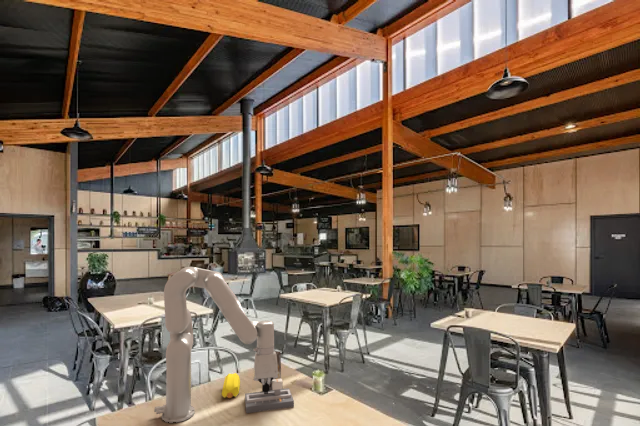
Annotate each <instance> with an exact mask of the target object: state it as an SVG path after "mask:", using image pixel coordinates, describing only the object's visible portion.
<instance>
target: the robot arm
mask: <svg viewBox="0 0 640 426" xmlns="http://www.w3.org/2000/svg"><path fill="white" fill-rule="evenodd" d="M192 287H194V288H201V289H205V290H206V292H207V294H208V295H209V296H210V298H211V299H212V301H213V302H214V303H215V304H216V306H217V308H218V309H219V310H220V311H221V314H222V315H223V317H224V318H225V320H226V321H227V323H228V325H229V326H230V327H231V329H232V330H233V332H234V333H235V334H236V336H237V338H238V339H239V340H240V342H241V343H243V344H245V345H251V344H253V343H255V342H256V347H254V348H253V353H254V352H255V355H254V360H253V363H254V364H253V379H252V380H253V381H255V382H259V383H260V384H261V392H264V394H268V391H269V384H270V382H271V381H272V380H273V379H275V378H278V367H277V356H276V352H275V351H276V350H275V324H274V322H273V321H271V320H260V321H257V320H256V321H253V320H250V319H249V317H248V316H247V315H246V313H245V311H244V309H243V306H242V304H241V301H240V300H239V298H238V296H237V295H235V293H234V292H233V290H232V289H231V287H230V286H229V284H228V283H227V282H226V280H225V278H224V275H223V274H222V273H221V272H219V271H216V270H209V269H205V268H201V267H195V266H185V267H182V268H181V269H180V270H178V271H176V272H175V273H174V274H172V275H171V276H170V277H169V279H167V281H166V283H165V285H164V288H163V302H164V320H165V321H164V323H165V328H166V330H167V332H169V339H170V340H169V342H168V344H167V346H166V348H165V349H166V351H165V364H166V368H165V369H166V377H165V378H166V380H165V381H166V382H165V383H166V384H165V385H166V388H165V397H166V398H165V404H163V405H161V406H160V405H159V406H154V410H153V411H154V413H156V415H158V414H159V415H160V414H161V420H162V421H163V420H164V421H165V422H164V421H163V422H164V423H168V422H169V423H170V424H174V423H173V422H176V423H181V422H184V421H186V420H189V419H190V418H191V417H193V416H194V414H195V412H196V411H195V410H196V409H195V407H194V406H192V348H193V345H194V330H193V320H192V314H191V311H190V309H188V307H187V296H186V293H187V290H188V289H189V288H190V289H191V288H192ZM264 378H267V381H266V383H265V381H264ZM169 423H168V424H169Z"/></svg>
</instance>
